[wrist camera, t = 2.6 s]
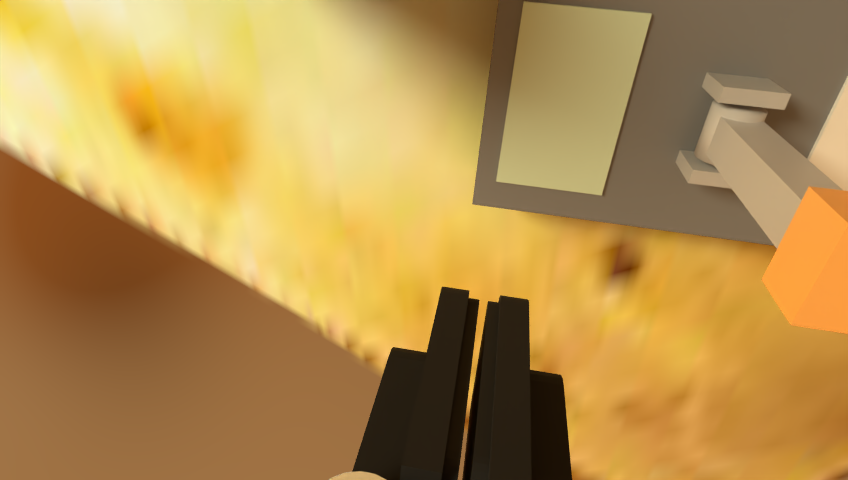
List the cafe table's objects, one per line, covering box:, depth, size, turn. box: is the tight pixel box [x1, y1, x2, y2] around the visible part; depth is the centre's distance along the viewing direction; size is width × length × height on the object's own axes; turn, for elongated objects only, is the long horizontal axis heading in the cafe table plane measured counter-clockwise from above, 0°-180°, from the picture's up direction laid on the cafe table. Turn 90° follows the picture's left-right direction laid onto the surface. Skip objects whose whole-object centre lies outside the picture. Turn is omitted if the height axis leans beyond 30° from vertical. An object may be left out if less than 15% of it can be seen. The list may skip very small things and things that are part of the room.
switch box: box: [472, 0, 848, 245], centre depth 23 cm, size 11×20×6 cm, turn 85°
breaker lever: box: [694, 100, 848, 334], centre depth 17 cm, size 3×2×12 cm
